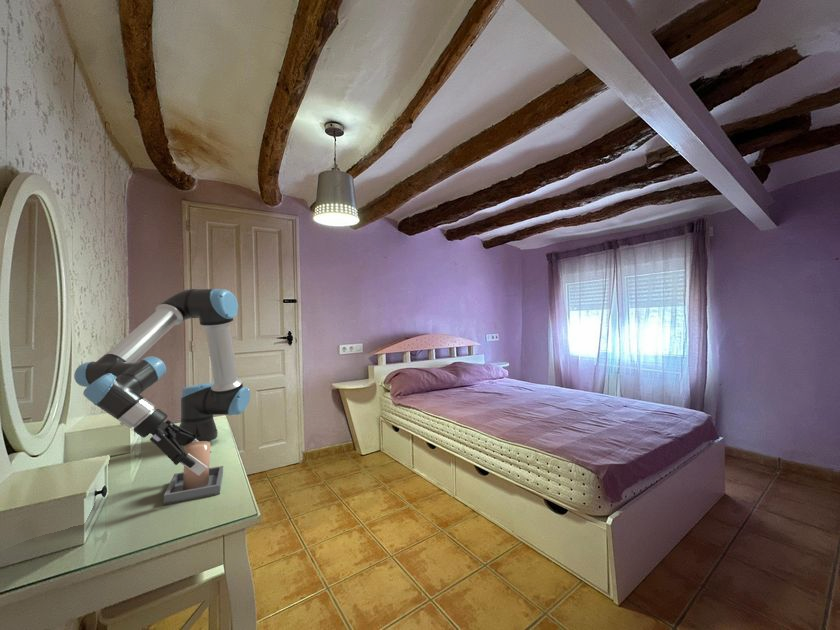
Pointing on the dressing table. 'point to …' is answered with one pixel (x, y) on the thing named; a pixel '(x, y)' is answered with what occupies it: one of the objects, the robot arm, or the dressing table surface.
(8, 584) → the dressing table surface
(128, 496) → the dressing table surface
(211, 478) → the tray
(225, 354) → the robot arm
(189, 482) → the peach domed cylinder
